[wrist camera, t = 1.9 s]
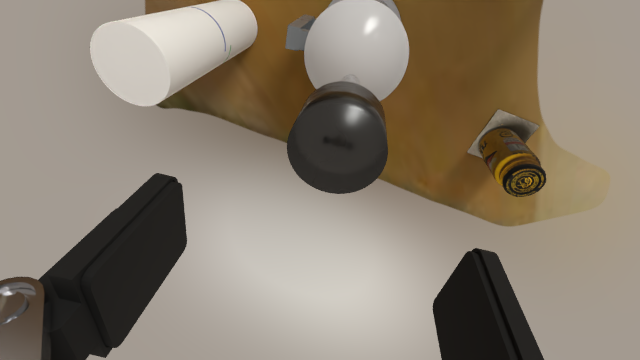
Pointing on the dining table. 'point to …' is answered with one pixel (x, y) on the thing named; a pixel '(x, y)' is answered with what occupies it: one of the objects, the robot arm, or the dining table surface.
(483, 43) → the dining table surface
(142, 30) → the cylindrical container
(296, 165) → the plunger
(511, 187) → the condiment
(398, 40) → the press housing
